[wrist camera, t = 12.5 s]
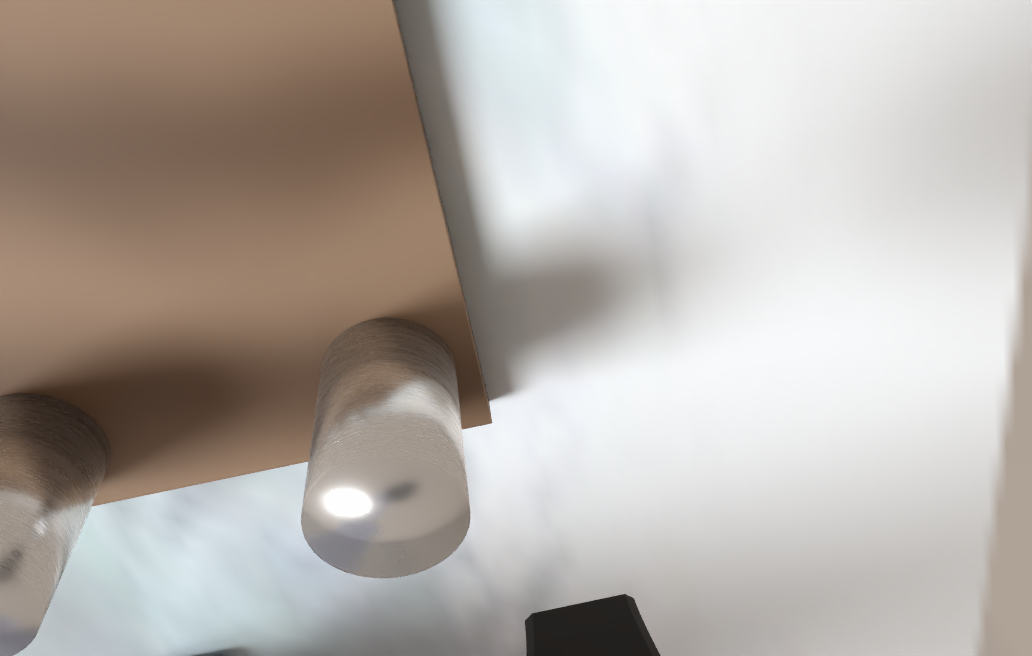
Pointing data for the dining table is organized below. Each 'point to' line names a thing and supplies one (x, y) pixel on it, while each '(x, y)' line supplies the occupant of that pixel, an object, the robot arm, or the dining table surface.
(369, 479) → the steel spacers
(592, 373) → the dining table surface
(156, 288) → the spacer board
